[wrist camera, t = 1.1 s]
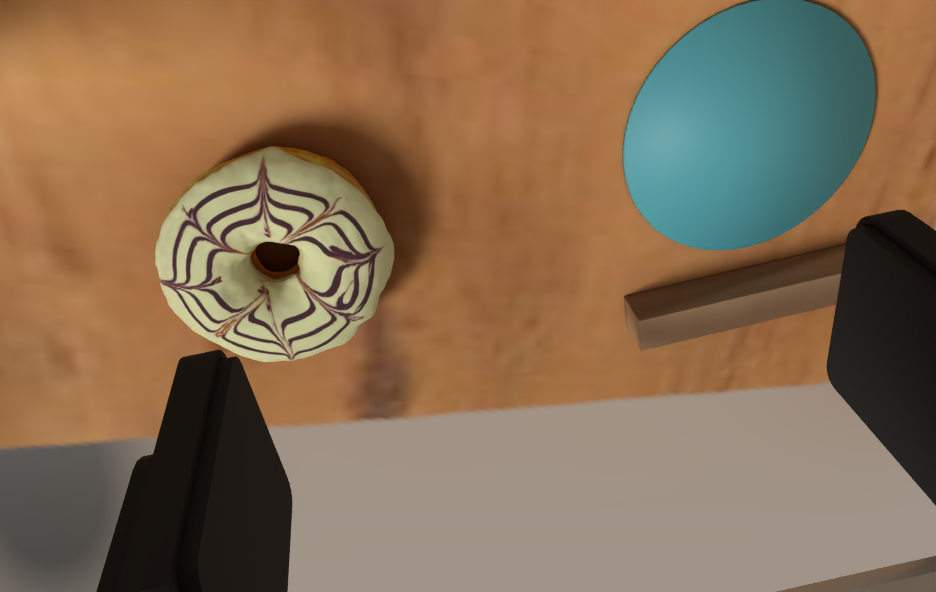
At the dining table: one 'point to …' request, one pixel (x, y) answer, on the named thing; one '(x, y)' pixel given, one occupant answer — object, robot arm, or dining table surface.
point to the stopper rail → (735, 298)
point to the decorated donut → (282, 221)
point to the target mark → (749, 124)
